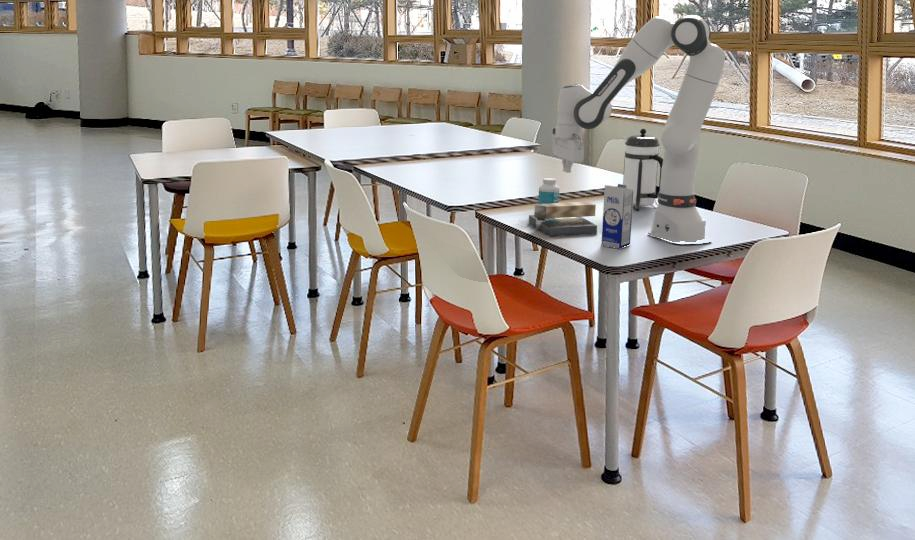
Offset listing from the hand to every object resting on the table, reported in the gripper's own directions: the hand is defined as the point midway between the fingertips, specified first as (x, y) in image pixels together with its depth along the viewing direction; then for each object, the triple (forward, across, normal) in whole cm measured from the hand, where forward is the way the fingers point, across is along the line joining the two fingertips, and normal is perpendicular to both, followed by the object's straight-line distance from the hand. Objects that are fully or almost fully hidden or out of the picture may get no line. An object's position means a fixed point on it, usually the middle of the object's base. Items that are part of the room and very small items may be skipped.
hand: (566, 171), depth 331 cm
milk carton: (+18, -33, -4) cm, 38 cm away
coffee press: (+18, +19, -39) cm, 47 cm away
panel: (+18, -7, +4) cm, 20 cm away
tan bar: (+14, -7, +3) cm, 16 cm away
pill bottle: (+19, +14, +1) cm, 23 cm away
